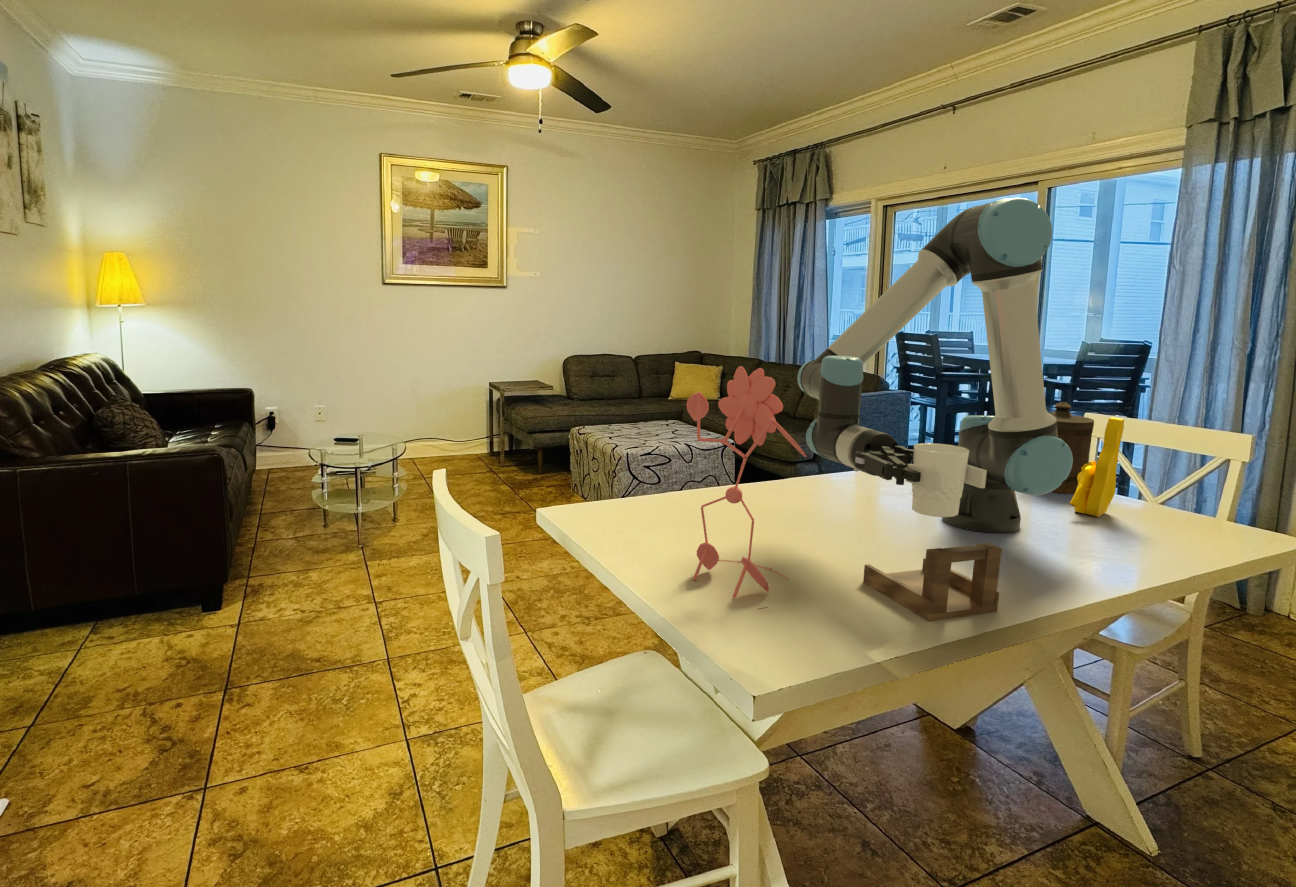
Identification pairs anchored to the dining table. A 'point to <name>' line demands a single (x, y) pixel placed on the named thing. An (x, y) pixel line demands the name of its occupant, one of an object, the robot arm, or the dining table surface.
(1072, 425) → the wooden container
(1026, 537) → the dining table surface
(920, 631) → the dining table surface
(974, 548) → the brown wooden stand
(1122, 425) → the figure statuette
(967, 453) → the white cup
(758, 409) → the figurine
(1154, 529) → the dining table surface
